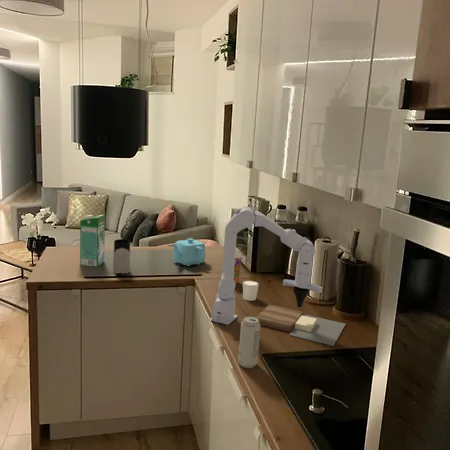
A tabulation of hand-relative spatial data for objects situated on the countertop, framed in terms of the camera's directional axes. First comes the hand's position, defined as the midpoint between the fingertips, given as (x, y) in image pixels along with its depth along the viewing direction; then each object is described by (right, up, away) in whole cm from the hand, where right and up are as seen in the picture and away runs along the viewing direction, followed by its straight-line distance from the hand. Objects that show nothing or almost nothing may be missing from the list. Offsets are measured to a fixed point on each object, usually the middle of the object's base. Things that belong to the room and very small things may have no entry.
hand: (299, 306), depth 183 cm
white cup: (-18, -1, +26) cm, 32 cm away
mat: (+7, -9, -2) cm, 11 cm away
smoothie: (-25, +3, +45) cm, 52 cm away
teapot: (-49, +10, +70) cm, 86 cm away
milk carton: (-95, +11, +59) cm, 113 cm away
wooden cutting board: (-7, -6, +4) cm, 11 cm away
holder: (-79, +9, +53) cm, 96 cm away
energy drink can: (-21, -13, -31) cm, 40 cm away
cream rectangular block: (+2, -7, 0) cm, 8 cm away
